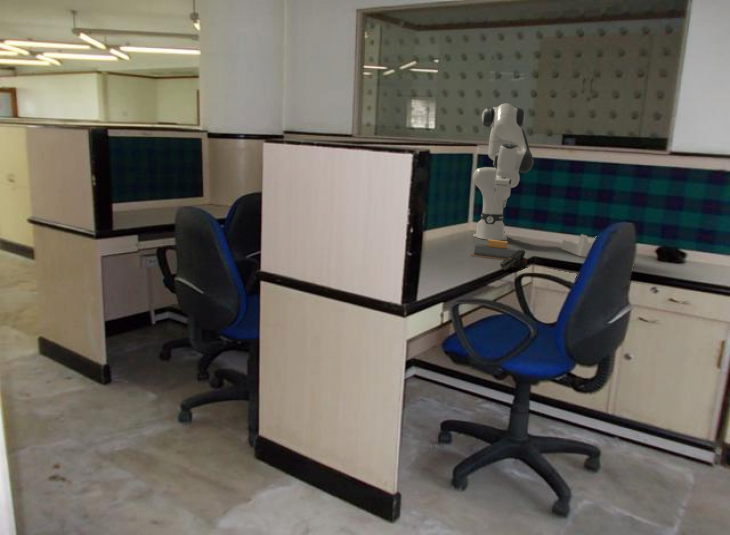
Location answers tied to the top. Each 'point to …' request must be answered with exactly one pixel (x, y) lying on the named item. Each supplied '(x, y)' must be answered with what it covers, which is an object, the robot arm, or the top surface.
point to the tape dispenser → (577, 246)
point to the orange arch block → (497, 244)
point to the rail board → (493, 252)
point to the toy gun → (514, 260)
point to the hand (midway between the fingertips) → (501, 208)
